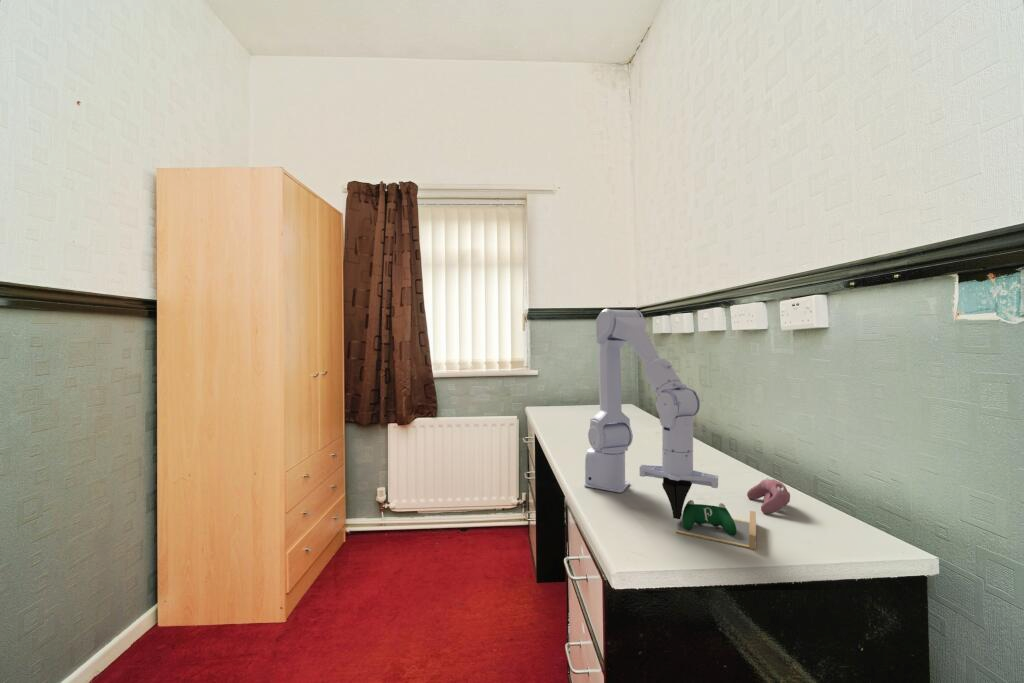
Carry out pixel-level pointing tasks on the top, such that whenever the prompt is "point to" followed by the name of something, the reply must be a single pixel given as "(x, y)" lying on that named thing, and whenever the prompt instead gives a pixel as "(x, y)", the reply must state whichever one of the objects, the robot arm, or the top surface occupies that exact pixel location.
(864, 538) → the top surface
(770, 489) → the video game controller
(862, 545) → the top surface
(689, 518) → the gaming controller
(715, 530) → the tray
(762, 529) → the top surface
